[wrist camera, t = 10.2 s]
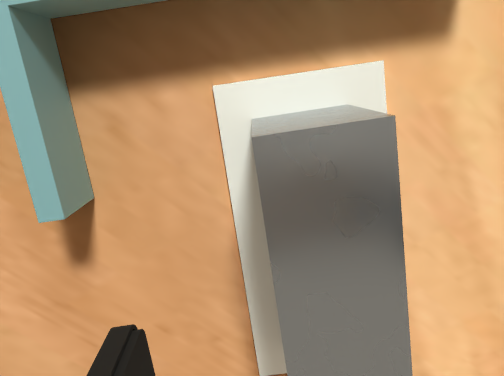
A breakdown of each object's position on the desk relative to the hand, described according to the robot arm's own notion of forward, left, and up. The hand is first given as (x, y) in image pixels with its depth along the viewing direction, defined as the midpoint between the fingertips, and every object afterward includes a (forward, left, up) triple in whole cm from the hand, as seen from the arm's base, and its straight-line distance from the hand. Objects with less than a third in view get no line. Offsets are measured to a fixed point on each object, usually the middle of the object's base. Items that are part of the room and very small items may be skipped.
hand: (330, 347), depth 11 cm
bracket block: (+1, 0, -8) cm, 8 cm away
